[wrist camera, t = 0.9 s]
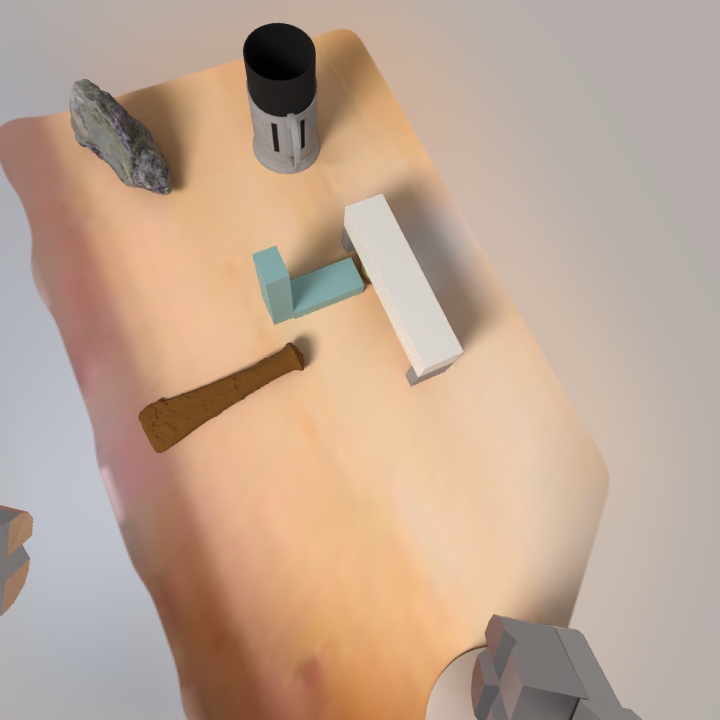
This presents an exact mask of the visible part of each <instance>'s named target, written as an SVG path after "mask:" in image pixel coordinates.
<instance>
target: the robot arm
mask: <svg viewBox="0 0 720 720" xmlns="http://www.w3.org/2000/svg"><path fill="white" fill-rule="evenodd" d="M32 527H33V518H32V516H31V515H30V514H29V513H28V512H26V511H22V510H17V509H13V508H9V507H5V506H1V505H0V616H2V615H3V614H4V613H5V612H6V611H7V610H8V609H9V607H10V606H11V605H12V604H13V603H14V601H15V600H16V598H17V596H18V595H19V593H20V591H21V589H22V588H23V586H24V584H25V580H26V577H27V574H28V570H29V561H30V557H29V556H28V554H27V553H26V551H25V549H24V547H23V545H22V544H23V543H24V542H25V541H26V540H27V539H29V537H31V536H32ZM485 636H486V640H487V643H488V647H484V648H479V649H475V650H472V651H470V652H467V653H465V654H463V655H462V656H460V657H459V658H457V659H456V660H454V661H453V662H452V663H451V664H450V665H449V666H448V667H447V668H446V669H445V670H444V671H443V673H442V674H441V675H440V677H439V678H438V680H437V682H436V684H435V686H434V688H433V690H432V692H431V695H430V698H429V701H428V705H427V711H426V718H425V720H642V719H641V718H640V717H639V716H638V715H636V714H635V713H634V712H633V711H632V710H630V709H625V708H622V707H621V705H620V703H619V701H618V699H617V698H616V696H615V694H614V692H613V690H612V688H611V686H610V684H609V683H608V681H607V679H606V677H605V675H604V673H603V671H602V669H601V667H600V666H599V664H598V662H597V660H596V658H595V656H594V654H593V652H592V650H591V648H590V647H589V645H588V643H587V641H586V639H585V637H584V635H583V634H582V633H580V632H579V631H578V630H575V629H569V628H564V627H558V626H553V625H544V624H539V623H534V622H529V621H524V620H519V619H515V618H510V617H505V616H500V615H495V614H494V615H493V616H492V618H491V619H490V621H489V623H488V626H487V629H486V631H485Z"/></svg>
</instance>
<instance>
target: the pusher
mask: <svg viewBox="0 0 720 720" xmlns="http://www.w3.org/2000/svg"><path fill="white" fill-rule="evenodd" d="M252 255H253V259H254V263H255V267H256V271H257V276H258V280H259V284H260V288H261V292H262V296H263V300H264V302H265V304H266V307H267V309H268V311H269V313H270V316H271V318H272V320H273V323H274V325H275V324H278V323H280V322H283V321H286V320H288V319H291V318H293V317H294V318H295V319H296V318H299V317H301V316H304V315H306V314H309V313H311V312H314V311H316V310H319V309H321V308H324V307H326V306H329V305H331V304H334V303H336V302H339V301H342V300H344V299H347V298H349V297H352V296H354V295H357V294H359V293H362V292H363V290H364V286H365V285H364V283H363V281H362V279H361V277H360V275H359V273H358V271H357V269H356V267H355V265H354V263H353V261H352V259H351V257H349V258H347V259H344V260H342V261H339V262H336V263H334V264H331V265H328V266H326V267H323V268H321V269H318V270H315V271H313V272H310V273H307V274H305V275H302V276H300V277H297V278H294V279H292V280H290V275H289V273H288V271H287V269H286V267H285V264H284V262H283V260H282V258H281V256H280V253H279V251H278V249H277V247H276V246H274V247H271V248H268V249H266V250H263V251H260V252H257V253H255V254H252Z"/></svg>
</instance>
